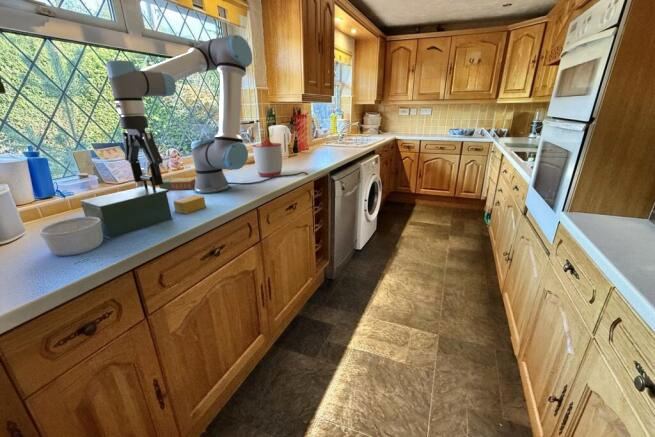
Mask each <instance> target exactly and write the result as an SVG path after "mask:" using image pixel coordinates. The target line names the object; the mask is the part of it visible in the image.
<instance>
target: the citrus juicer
mask: <svg viewBox="0 0 655 437" xmlns="http://www.w3.org/2000/svg"><path fill="white" fill-rule="evenodd" d="M252 151H253V158H254V165H255V168H256V171H257V174H258V175H259V177H262V178H272V177H275V176H280V175H281V174H282V170H283V154H282V153H283V152H282V143H280V142H271V141H270V140H269V139H268V138H266V139H264V140H263V142H261V145H259V146H258V145H255V144H252Z"/></svg>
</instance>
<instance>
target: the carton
mask: <svg viewBox="0 0 655 437" xmlns="http://www.w3.org/2000/svg"><path fill="white" fill-rule="evenodd" d="M195 179H196V176H195V177H194V176H193V177H171V178H170V177H169V178H165V179H162V180H163V184H161V185H158V186H159V187H158V188H162V189H167V190H168V191H171V190H172V191H173V190H175V191H176V190H193V189H195Z"/></svg>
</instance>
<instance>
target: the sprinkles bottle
mask: <svg viewBox="0 0 655 437" xmlns="http://www.w3.org/2000/svg"><path fill="white" fill-rule="evenodd" d="M141 171H142V175H147V174H146V169H145V168H144V167H141ZM134 183H135V186H136V187H135V188H139V187H144V183H143V181H140V182H135V181H134ZM146 183H147V186H149V181H146Z"/></svg>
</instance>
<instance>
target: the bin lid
mask: <svg viewBox="0 0 655 437" xmlns="http://www.w3.org/2000/svg"><path fill="white" fill-rule="evenodd" d="M140 178H141V179H142V180H143V183H144V187H139V188H137V187H135V188H131V189H127V190H122V191H121V190H120V191H117V192H113V193H108V194H104V195H100V196H94V197H90V198H85V199H80V200H79V201H80V204H81V203H83V204H86V205H89V206H93V207H96V208H99V209H103V208H107V207H111V206H115V205H119V204H123V203H127V202H131V201H135V200H139V199H143V198H147V197H151V196H155V195H159V194H163V193H170V190H167V189H162V188H160V187H156V186H154V183H153V179H152V175H147V174H146V175H141V176H140ZM146 181H147V182H150V184H151V185H148V186H147V183H146Z"/></svg>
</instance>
